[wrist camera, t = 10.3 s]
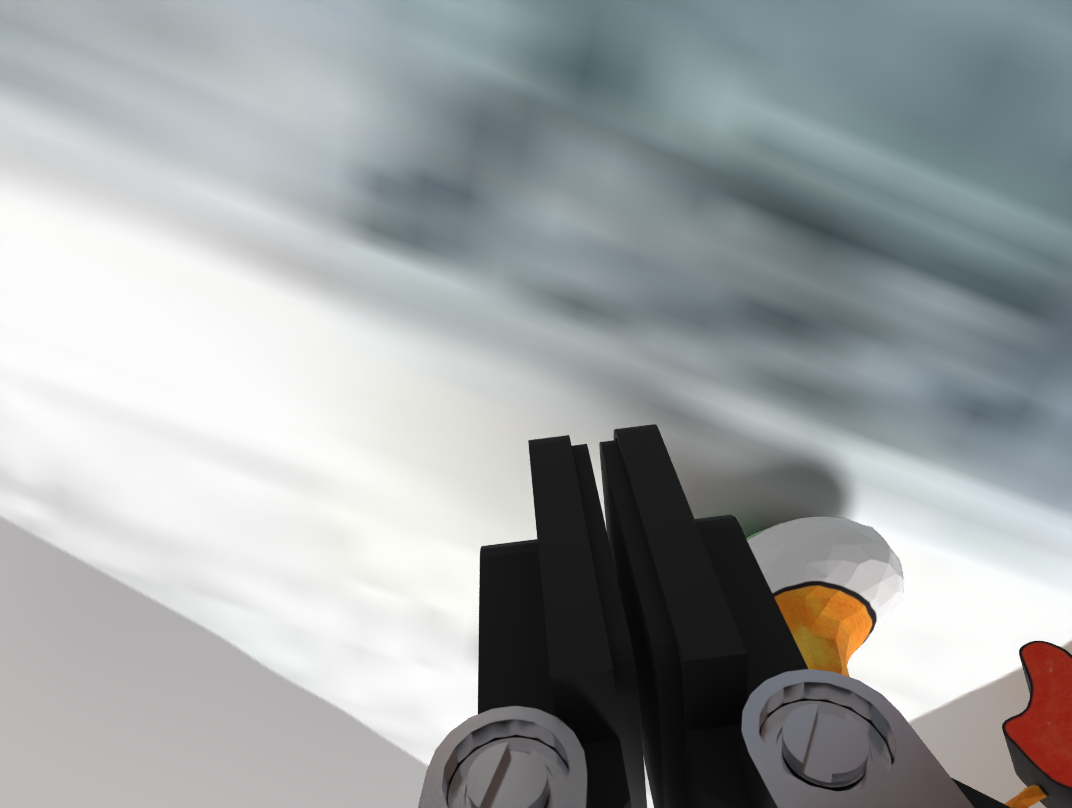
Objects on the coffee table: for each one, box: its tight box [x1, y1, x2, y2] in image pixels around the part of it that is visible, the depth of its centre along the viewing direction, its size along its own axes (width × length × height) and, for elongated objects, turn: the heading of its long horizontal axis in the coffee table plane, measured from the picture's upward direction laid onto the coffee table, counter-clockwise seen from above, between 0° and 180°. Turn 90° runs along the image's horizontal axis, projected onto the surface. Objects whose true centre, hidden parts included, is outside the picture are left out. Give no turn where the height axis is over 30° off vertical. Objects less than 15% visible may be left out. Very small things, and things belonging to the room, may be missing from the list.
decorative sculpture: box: [746, 516, 1072, 808], centre depth 32 cm, size 20×8×30 cm, turn 116°
